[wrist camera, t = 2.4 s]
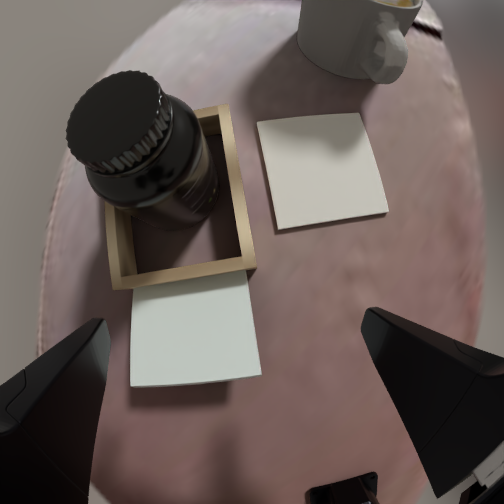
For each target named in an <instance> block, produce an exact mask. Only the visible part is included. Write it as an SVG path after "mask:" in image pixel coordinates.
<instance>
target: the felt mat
mask: <svg viewBox="0 0 504 504" xmlns="http://www.w3.org/2000/svg"><path fill="white" fill-rule="evenodd" d="M257 128H258V133H259V137H260V142H261V147H262V151H263V156H264V161H265V166H266V171H267V176H268V181H269V186H270V191H271V196H272V201H273V206H274V211H275V216H276V222H277V227H278V230H282V229H287V228H293V227H299V226H305V225H312V224H318V223H324V222H330V221H336V220H343V219H349V218H355V217H362V216H368V215H374V214H381V213H387V212H389V209H388V205H387V201H386V197H385V193H384V189H383V186H382V182H381V178H380V175H379V171H378V168H377V165H376V161H375V158H374V155H373V152H372V148H371V145H370V142H369V139H368V136H367V133H366V131H365V128H364V125H363V122H362V119H361V117H360V114H359V113H342V114H326V115H312V116H301V117H291V118H283V119H274V120H267V121H260V122H257Z"/></svg>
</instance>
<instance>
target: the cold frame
mask: <svg viewBox="0 0 504 504" xmlns="http://www.w3.org/2000/svg"><path fill="white" fill-rule="evenodd" d="M193 112H194V113H195V115H196V116H197V118H198V120H199V123H200V125H201V128H202V130H203V133H204V136H210V135H215V134H220V133H222V138H223V144H224V150H225V156H226V163H227V169H228V175H229V181H230V187H231V193H232V200H233V206H234V212H235V218H236V224H237V230H238V236H239V242H240V248H241V253H242V256H241V257H235V258H229V259H224V260H218V261H212V262H206V263H200V264H195V265H189V266H183V267H177V268H171V269H165V270H160V271H154V272H148V273H142V274H137V269H136V261H135V253H134V244H133V234H132V223H131V215H130V214H128V213H126V212H124V211H122V210H120V209H118V208H116V207H114V206H112V205H110V204H109V203H107V202H106V201H104V202H105V221H106V235H107V247H108V257H109V266H110V274H111V281H112V289H113V290H125V289H133V288H138V287H144V286H151V285H157V284H163V283H169V282H176V281H182V280H188V279H194V278H200V277H206V276H212V275H218V274H224V273H230V272H236V271H242V270H251V269H257V265H256V259H255V253H254V248H253V242H252V236H251V230H250V225H249V219H248V213H247V207H246V202H245V196H244V190H243V185H242V179H241V173H240V167H239V162H238V156H237V150H236V145H235V139H234V133H233V128H232V122H231V116H230V111H229V105H228V104H224V105H218V106H213V107H208V108H203V109H198V110H194V111H193Z"/></svg>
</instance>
